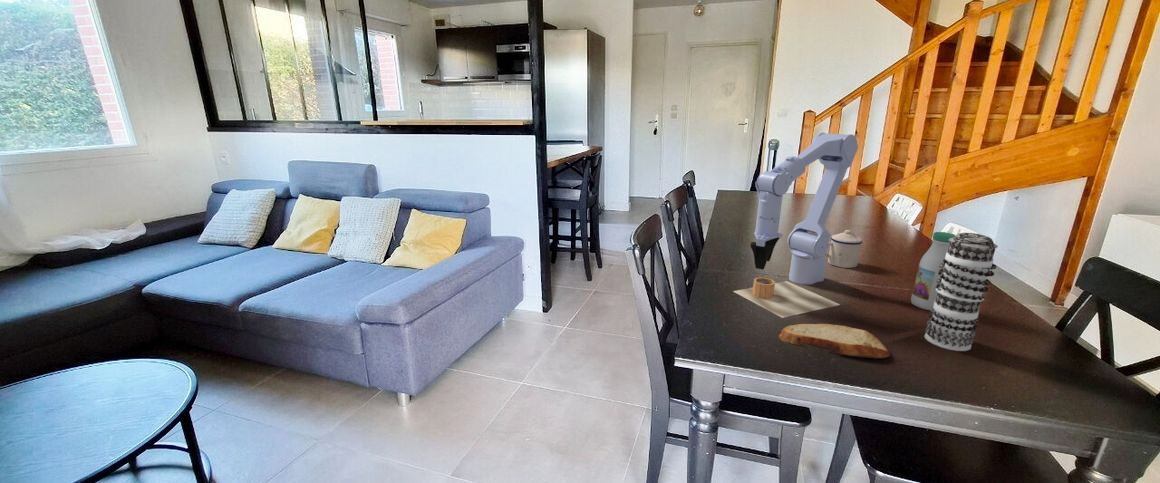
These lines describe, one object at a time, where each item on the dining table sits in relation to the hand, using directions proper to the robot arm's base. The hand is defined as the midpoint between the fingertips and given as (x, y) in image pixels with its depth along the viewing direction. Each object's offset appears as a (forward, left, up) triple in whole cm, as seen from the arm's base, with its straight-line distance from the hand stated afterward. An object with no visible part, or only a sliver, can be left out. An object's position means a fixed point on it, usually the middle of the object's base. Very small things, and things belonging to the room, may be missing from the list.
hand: (762, 264), depth 127 cm
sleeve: (+1, +2, -8) cm, 8 cm away
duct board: (-3, +6, -9) cm, 11 cm away
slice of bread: (+5, +28, -10) cm, 30 cm away
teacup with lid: (-43, -10, -9) cm, 45 cm away
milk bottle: (-36, +23, -9) cm, 44 cm away
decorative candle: (-20, +37, -9) cm, 43 cm away
